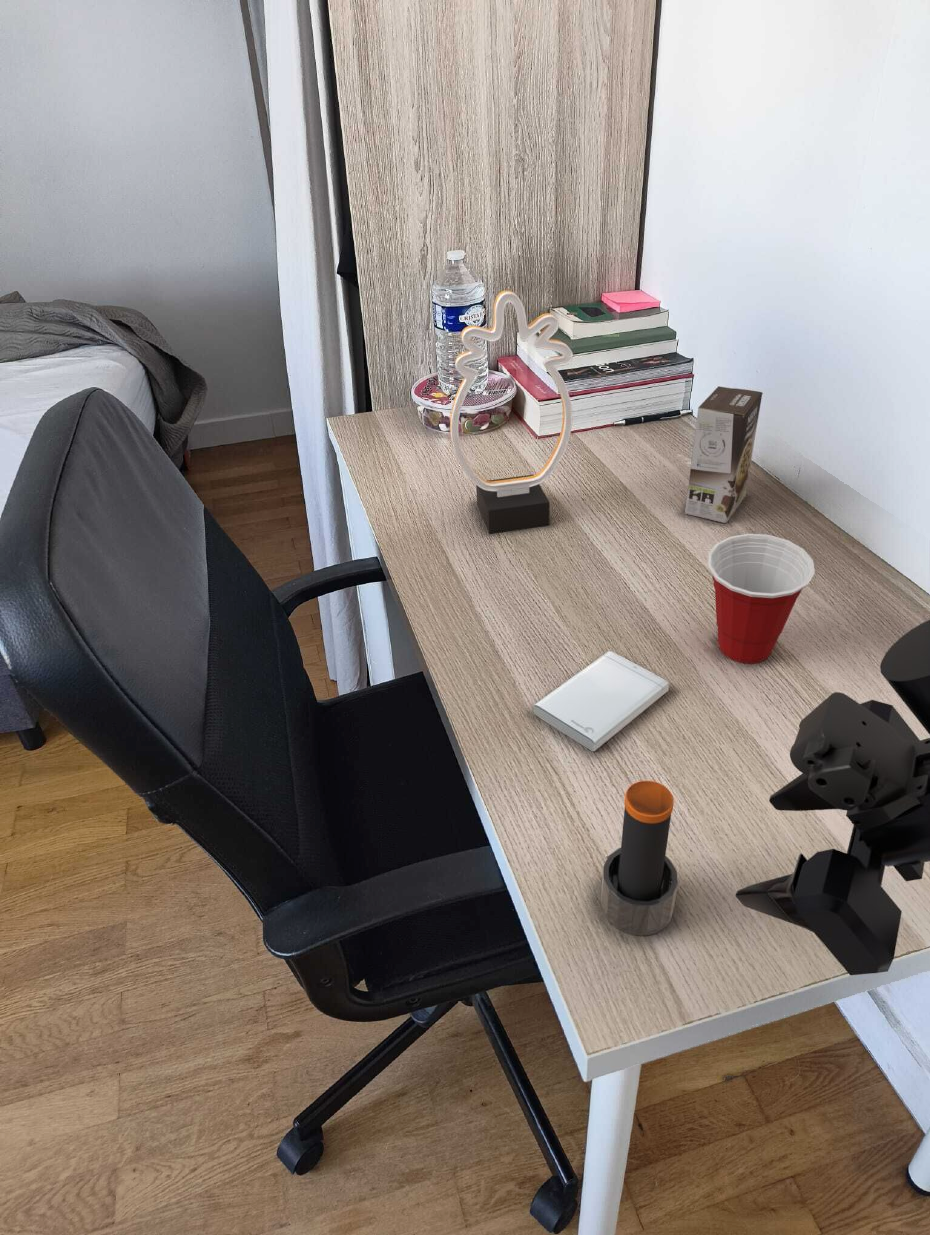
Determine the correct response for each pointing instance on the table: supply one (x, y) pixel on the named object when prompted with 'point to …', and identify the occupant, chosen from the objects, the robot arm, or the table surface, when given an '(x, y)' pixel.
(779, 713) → the table surface
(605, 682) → the hard drive
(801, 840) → the table surface
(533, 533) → the table surface
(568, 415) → the lamp
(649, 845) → the orange-capped black cylinder
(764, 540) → the plastic cup
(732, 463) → the coffee box
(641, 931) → the socket
